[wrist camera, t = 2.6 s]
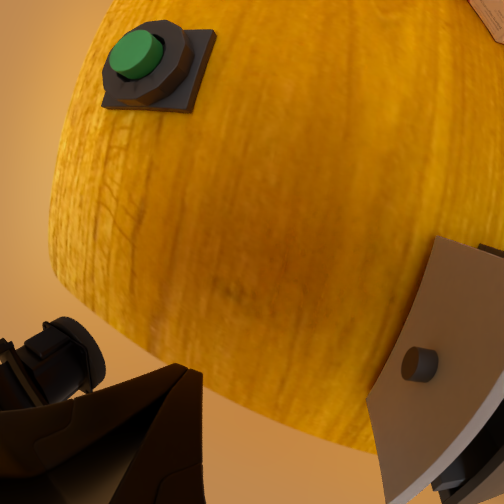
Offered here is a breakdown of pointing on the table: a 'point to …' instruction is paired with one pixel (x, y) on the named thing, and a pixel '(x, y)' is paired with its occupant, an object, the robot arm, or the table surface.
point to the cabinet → (491, 475)
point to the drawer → (443, 377)
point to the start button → (136, 54)
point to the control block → (163, 72)
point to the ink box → (491, 16)
